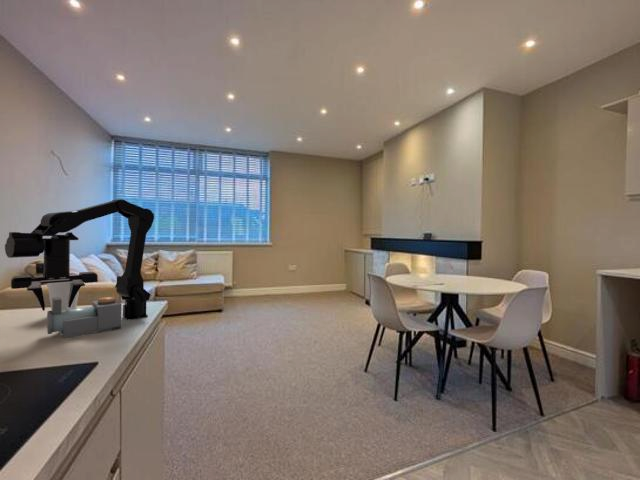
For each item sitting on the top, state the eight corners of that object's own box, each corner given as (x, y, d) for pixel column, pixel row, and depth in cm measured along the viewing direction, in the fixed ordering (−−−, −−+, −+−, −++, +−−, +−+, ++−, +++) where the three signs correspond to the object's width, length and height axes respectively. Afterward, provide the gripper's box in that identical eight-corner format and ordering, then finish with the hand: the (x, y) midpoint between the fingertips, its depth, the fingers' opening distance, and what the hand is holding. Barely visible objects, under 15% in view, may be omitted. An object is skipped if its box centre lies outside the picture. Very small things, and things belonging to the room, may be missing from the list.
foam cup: (79, 309, 117) (79, 276, 117) (82, 314, 110) (82, 279, 110) (46, 314, 110) (46, 278, 110) (47, 319, 104) (47, 282, 103)
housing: (113, 321, 103) (114, 298, 103) (121, 328, 96) (121, 304, 96) (60, 330, 93) (60, 305, 93) (63, 339, 86) (64, 311, 86)
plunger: (113, 308, 100) (113, 296, 100) (116, 311, 97) (116, 298, 97) (96, 310, 97) (96, 298, 97) (99, 313, 94) (99, 300, 94)
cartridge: (91, 323, 97) (92, 293, 97) (95, 328, 92) (96, 296, 92) (46, 331, 89) (47, 297, 89) (48, 336, 85) (48, 301, 85)
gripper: (91, 253, 100) (91, 299, 101) (11, 255, 87) (11, 308, 87) (98, 255, 92) (97, 305, 93) (11, 257, 79) (11, 316, 79)
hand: (56, 308), depth 88 cm, fingers open, 5 cm apart
